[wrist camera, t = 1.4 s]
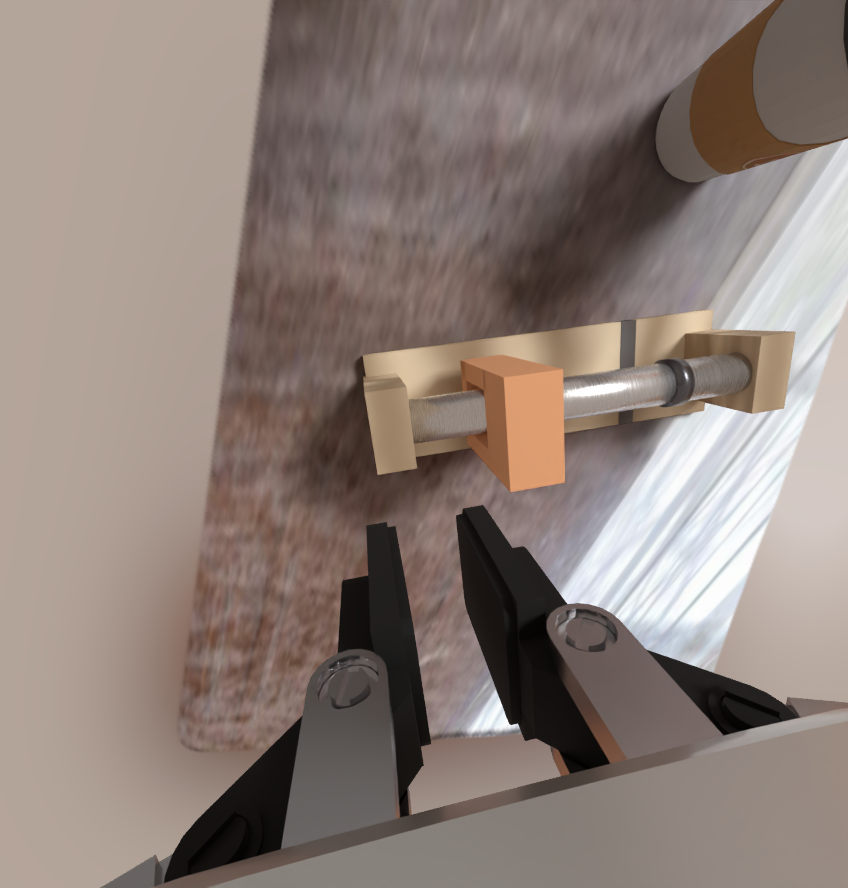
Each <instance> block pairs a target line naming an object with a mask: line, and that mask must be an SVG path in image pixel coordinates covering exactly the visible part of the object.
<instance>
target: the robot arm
mask: <svg viewBox="0 0 848 888" xmlns="http://www.w3.org/2000/svg"><path fill="white" fill-rule="evenodd" d="M456 522H457V532H458V541H459V551H460V561H461V570H462V580H463V590H464V599H465V605H466V609H467V612H468V615H469V618H470V620H471V623H472V626H473V628H474V631H475V634H476V636H477V639H478V642H479V644H480V647H481V650H482V652H483V655H484V658H485V660H486V663H487V666H488V669H489V671H490V674H491V677H492V679H493V682H494V685H495V687H496V690H497V693H498V695H499V698H500V701H501V703H502V706H503V709H504V711H505V714H506V717H507V719H508V722H509V724H510V725H513V724H517V723H518V725H519V727H520V730H521V732H522V735H523V737H524V740H525V741H527V740H531V739H535V738H537V739H539V740H540V741H542V742H544V743H546V744H548V745H550V747H551V752H552V756H553V759H554V761H555V764H556V766H557V768H558V770H559V772H560V774H561V777H557V778H553V779H549V780H545V781H541V782H537V783H533V784H529V785H526V786H521V787H518V788H514V789H510V790H506V791H502V792H498V793H494V794H490V795H487V796H482V797H478V798H475V799H471V800H467V801H463V802H459V803H455V804H451V805H447V806H443V807H440V808H436V809H433V810H428V811H424V812H421V813H417V814H413V815H412V814H411V802H410V793H409V788H408V787H409V785H410V784H411V782H412V780H413V779H414V778H415V776H416V774H417V773H418V772H419V770H420V768H421V767H422V766H424V765H423V758H422V751H421V746H425V745H429V744H431V740H430V733H429V727H428V720H427V714H426V707H425V700H424V694H423V687H422V681H421V674H420V667H419V661H418V654H417V648H416V641H415V635H414V628H413V622H412V616H411V611H410V605H409V599H408V594H407V588H406V583H405V577H404V571H403V566H402V560H401V555H400V549H399V544H398V538H397V532H396V527H395V526H393V527H387V522H385V523H379V524H373V525H368V526H367V527H366V528H367V554H368V576H363V577H358V578H353V579H348V580H343V581H342V592H341V609H340V625H339V641H338V653H337V654H336V655H334V656H332V657H330V658H329V659H327V660H326V661H325V662H323V663H322V664H321V665H320V666H319V667H318V668H317V669H316V671H315V672H314V673H313V675H312V676H311V678H310V681H309V684H308V687H307V691H306V698H305V704H304V710H303V716H302V717H301V718H300V719H299V720H298V721H297V722H296V723H295V724H294V725H293V726H292V727H290V728H289V729H288V730H287V731H286V732H285V733H284V734H283V735H282V736H281V737H280V738H279V739H278V740H277V741H276V742H275V743H274V744H273V745H272V746H271V747H270V748H269V749H268V750H267V751H266V752H265V753H264V754H263V755H262V756H261V757H260V758H259V759H258V760H257V761H256V762H255V763H254V764H253V765H252V766H251V767H250V768H249V769H248V770H247V771H246V772H245V773H244V774H243V775H242V776H241V777H240V778H239V779H238V780H237V781H236V782H235V783H234V784H233V785H232V786H231V787H230V788H229V789H228V790H227V791H226V792H225V793H224V794H223V795H222V796H221V797H220V798H219V799H218V800H217V801H216V802H215V803H214V804H213V805H212V806H211V807H210V808H209V809H208V810H207V811H206V812H205V813H204V814H203V815H202V816H201V817H200V818H199V819H198V820H197V821H196V822H195V823H194V824H193V825H192V827H191V828H190V829H189V830H188V831H187V832H186V834H185V835H184V836H183V838H182V839H181V841H180V843H179V844H178V846H177V848H176V849H175V851H174V853H173V854H172V855H170V856H169V857H167V858H165V859H163V860H162V861H160V862H159V861H158V859H157V857H156V855H154V856H153V857H151V858H149V859H148V860H146V861H144V862H143V863H141V864H139V865H138V866H136V867H134V868H133V869H131V870H130V871H128V872H126V873H124V874H123V875H121V876H120V877H118V878H116V879H114V880H113V881H111V882H109V883H108V884H106V885H104V886H103V887H101V888H848V703H844V702H834V701H822V700H812V699H801V698H790V697H788V698H787V702H786V705H784V704H783V703H782V702H780V701H779V700H777V699H776V698H774V697H772V696H771V695H769V694H768V693H766V692H764V691H761V690H759V689H757V688H755V687H752V686H750V685H747V684H744V683H741V682H738V681H736V680H733V679H730V678H727V677H724V676H721V675H718V674H715V673H712V672H709V671H707V670H704V669H701V668H698V667H695V666H692V665H689V664H686V663H683V662H680V661H678V660H675V659H672V658H669V657H666V656H663V655H660V654H657V653H654V652H651V651H648V650H646V649H645V648H644V647H643V646H642V645H641V643H640V642H639V641H638V640H637V639H636V638H635V637H634V636H633V635H632V633H631V632H630V631H629V630H628V629H627V628H626V627H625V626H624V625H623V623H622V622H621V621H620V620H619V619H617V618H616V617H615V616H614V615H613V614H612V613H610V612H608V611H606V610H604V609H602V608H600V607H596V606H593V605H589V604H580V603H576V604H567V603H566V602H565V600H564V599H563V598H562V596H561V595H560V594H559V592H558V591H557V590H556V588H555V587H554V585H553V584H552V583H551V581H550V580H549V579H548V577H547V576H546V575H545V573H544V572H543V570H542V569H541V568H540V566H539V565H538V564H537V562H536V561H535V560H534V558H533V557H532V555H531V554H530V553H529V551H528V550H527V549H526V548H525V547H516V548H512V547H511V545H510V544H509V542H508V541H507V539H506V538H505V536H504V535H503V534H502V532H501V531H500V529H499V528H498V526H497V525H496V523H495V522H494V520H493V519H492V517H491V516H490V514H489V513H488V511H487V510H486V508H485V507H484V506H483V505H481V506H475V507H470V508H464V509H463V512H462V514H460V515H457V516H456Z"/></svg>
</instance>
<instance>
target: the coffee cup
mask: <svg viewBox="0 0 848 888" xmlns="http://www.w3.org/2000/svg"><path fill="white" fill-rule="evenodd" d="M847 138H848V0H775V1H774V2H772V3H771V4H770V5H769V6H768V7H767V8H765V9H764V10H763V11H762V12H761V13H760V14H758V15H757V16H756V17H755V18H754V19H753V20H752V21H750V22H749V23H748V24H747V25H746V26H745V27H743V28H742V29H741V30H740V31H739V32H738V33H736V34H735V35H734V36H733V37H732V38H731V39H729V40H728V41H727V42H726V43H725V44H724V45H722V46H721V47H720V48H719V49H718V50H717V51H715V52H714V53H713V54H712V55H711V56H710V57H709V58H708V59H707V61H706V62H705V63H704V64H702V65H701V66H700V67H699V68H698V69H697V70H695V71H694V72H693V73H692V74H691V75H689V76H688V77H687V78H686V79H685V80H684V81H682V82H681V83H680V84H679V86H678V87H677V88H676V89H675V90H674V91H673V92H672V93H671V95H670V97H669V98H668V100H667V102H666V103H665V105H664V108H663V110H662V112H661V115H660V118H659V121H658V123H657V130H656V150H657V153H658V156H659V159H660V162H661V163H662V165H663V167H664V168H665V170H666V171H667V172H669V173H670V174H671V175H672V176H673V177H676V178H678V179H681V180H684V181H686V182H701V181H705V180H708V179H711V178H715V177H718V176H721V175H724V174H732V173H735V172H739V171H742V170H745V169H749V168H752V167H755V166H759V165H762V164H765V163H768V162H772V161H775V160H778V159H782V158H785V157H788V156H791V155H795V154H798V153H801V152H805V151H808V150H811V149H814V148H818V147H821V146H824V145H828V144H831V143H834V142H837V141H841V140H844V139H847Z"/></svg>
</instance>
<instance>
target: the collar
mask: <svg viewBox="0 0 848 888" xmlns="http://www.w3.org/2000/svg"><path fill="white" fill-rule="evenodd" d="M460 364H461V376H462V387H463V391H470V390H477V389H483V390H484V396H485V410H486V424H487V433H480V434H474V435H468V436H467V443H468V445H469V446H470V447H471V448H472V449H473V450H474V451H475V452H476V454H477V455H478V456H479V457H480V458H481V459H482V460H483V462H484V463H485V464H486V465H487V466H488V467H489V468H490V469H491V471H492V472H493V473H494V474H495V475H496V476H497V477H498V479H499V480H500V481H501V482H502V483H503V484H504V485H505V486H506V488H507V489H508V490H509V491H510V492H514V491H519V490H525V489H531V488H537V487H542V486H548V485H554V484H560V483H565V463H564V394H563V369H560V368H556V367H552V366H548V365H544V364H540V363H535V362H531V361H527V360H523V359H519V358H515V357H511V356H507V355H495V356H488V357H480V358H473V359H466V360H460Z"/></svg>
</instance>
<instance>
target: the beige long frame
mask: <svg viewBox="0 0 848 888" xmlns="http://www.w3.org/2000/svg"><path fill="white" fill-rule="evenodd" d="M712 318H713V310H701V311H693V312H686V313H678V314H670V315H663V316H655V317H648V318H640V319H632V320H625V321H617V322H610V323H602V324H594V325H587V326H579V327H572V328H564V329H556V330H549V331H541V332H534V333H526V334H518V335H511V336H503V337H496V338H488V339H480V340H473V341H465V342H457V343H450V344H442V345H435V346H427V347H419V348H412V349H404V350H397V351H389V352H381V353H374V354H366V355H363V361H364V368H365V374H366V376H363V381H364V393H365V399H366V405H367V412H368V418H369V424H370V430H371V436H372V443H373V449H374V455H375V461H376V467H377V474H378V475H380V474H386V473H392V472H399V471H405V470H411V469H417V463H416V457H419V456H425V455H432V454H438V453H444V452H450V451H456V450H463V449H469V448H471V447H470V446H469V445H468V443H467V436H461V437H455V438H449V439H442V440H436V441H429V442H423V443H417V444H414V440H413V433H412V425H411V417H410V409H409V402H408V399H415V398H422V397H429V396H436V395H443V394H449V393H456V392H463V387H462V376H461V364H460V360H466V359H473V358H480V357H488V356H495V355H507V356H511V357H515V358H519V359H523V360H527V361H531V362H535V363H540V364H544V365H548V366H552V367H556V368H560V369H563V377H567V376H574V375H581V374H587V373H594V372H601V371H608V370H615V369H622V368H629V367H636V366H643V365H650V364H654V363H655V362H657V361H658V360H663V359H670V358H681V359H691V358H698V357H705V356H712V355H719V354H726V353H732V352H738V353H741V354H743V355H745V356H746V357H747V358H748V359H749V361H750V363H751V365H752V370H753V376H752V380H751V383H750V384H749V386H748V387H747V388H746V389H745V390H744V391H742V392H740V393H735V394H729V395H723V396H716V397H710V398H703V399H697V400H691V401H688V402H686V403H685V404H683V405H678V406H672V407H660V406H652V407H646V408H640V409H633V410H627V411H621V412H614V413H608V414H601V415H595V416H589V417H582V418H576V419H570V420H564V433H569V432H575V431H581V430H587V429H593V428H600V427H606V426H612V425H618V424H626V423H632V422H637V421H643V420H650V419H656V418H662V417H668V416H674V415H681V414H687V413H693V412H699V411H704V406H705V403H709V404H714V405H718V406H722V407H726V408H730V409H734V410H739V411H743V412H747V413H751V414H753V413H759V412H765V411H771V410H777V409H784V405H785V399H786V392H787V385H788V379H789V372H790V365H791V359H792V352H793V345H794V339H795V332H786V331H750V330H714V329H712Z"/></svg>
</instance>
